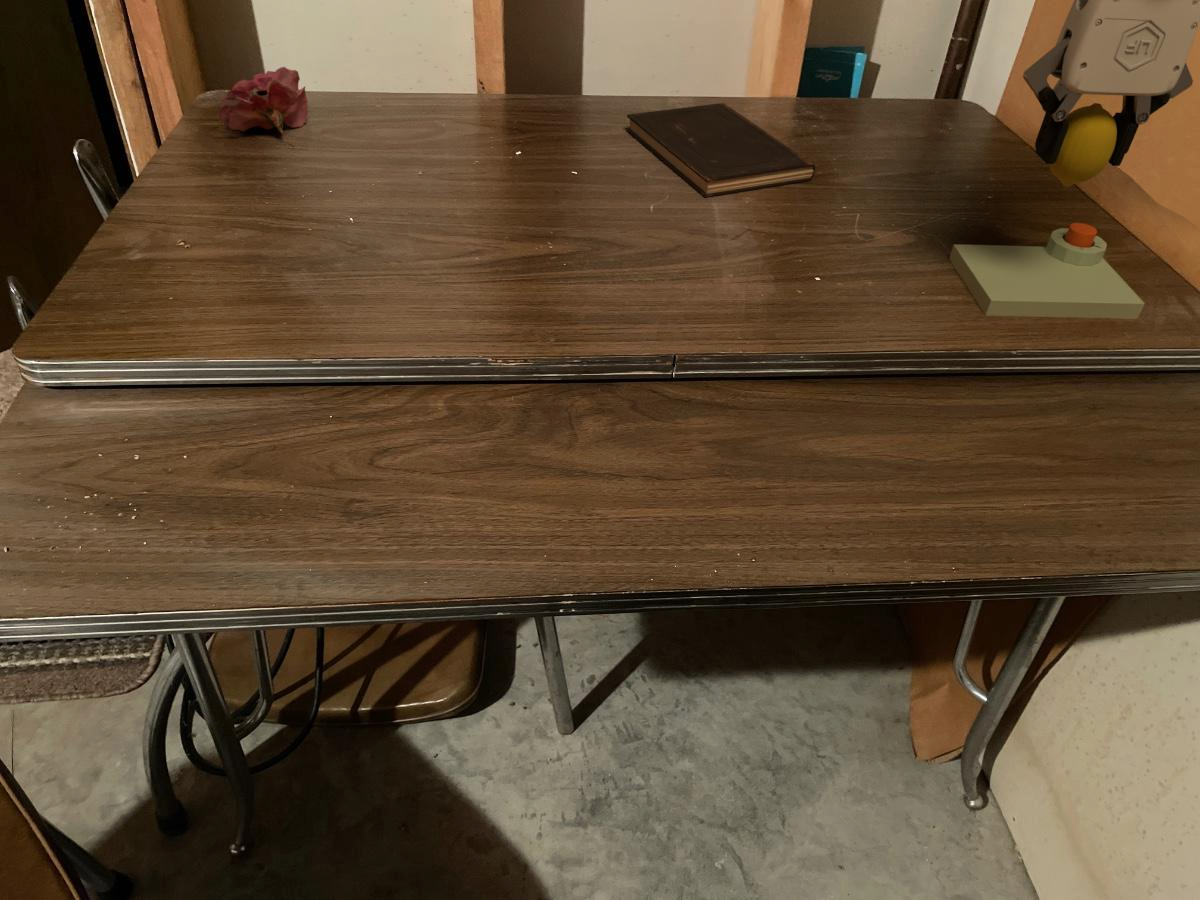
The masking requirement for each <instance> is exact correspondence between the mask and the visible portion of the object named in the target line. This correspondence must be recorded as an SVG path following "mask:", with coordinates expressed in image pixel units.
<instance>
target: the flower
mask: <svg viewBox="0 0 1200 900" xmlns="http://www.w3.org/2000/svg"><path fill="white" fill-rule="evenodd" d="M300 79H301V78H300V74H299V71H297V70H296V69H289V68H287V67H286V66H282V67H279V68H278V69H276V70H275V71H273V70H272V71H271V70H267V71H266V73H263V72H261V73H257V74H254V75H253V79H252V80H251V79H250V80H247V79H242V80H239V81H238V82H236V83H234V85H233V88H232V89H230V90H228V92H227V96H226V97H224V98H223V99H222V101H221V107H220V108H219V113H218V117H219V120H220V122H222V123H223V124H224V126H225V127H226V128H228V129H229V130H232V131H241V132H243V133H245V132H247V131H248V130H249V129H250V128H254V127H259V128H262V129H265V130H270V129H273V128H275V129H277V130H278V132H279V133H280V134H281V135H282V136H284V138H286V140H287V141H288V142H289V144H290V145H291V146H293V147H295V145H294V144H293V143H292V141H291V140H289V139H288V138H287V137H286V136H285V134H284V131H283V125H284V124H285V126H288V127H290V128H292V129H294V128H301V127H303V126H304V124H306V122H307V119H308V114H309V113H308V112H309V111H308V110H309V105H308V98H307V93H306V86H305V85H304V86H303V87H302V88H301V89H300V88H299V82H300Z"/></svg>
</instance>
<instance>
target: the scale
mask: <svg viewBox="0 0 1200 900" xmlns="http://www.w3.org/2000/svg"><path fill="white" fill-rule="evenodd" d="M1068 229H1069V227H1068V228H1066V227H1065V228H1063V227H1061V228H1057V229H1055V230H1053V231H1051V233H1050V236H1049V239H1048V241H1047V244H1046V246H1040V245H1039V246H1036V245H1035V246H1034V245H1000V244H999V245H997V244H996V245H993V244H992V245H991V244H953V245H952V249H951V251H950V254H949V258H948V260H949V261H950V263H951V264H952V266H953V268H954V269H955V271H956V272H957V274H958V275H959V277H960V279H961V280H962V281H963V283H964V285H965V286H966V288H967V289H968V291H969V292H970V294H971V295H972V297H973V298H974V300H975V301H976V303H977V305H978V306H979V308H980V309H981V311H982V312H983V314H984V315H985V316H990V317H992V316H993V317H994V316H995V317H1035V318H1036V317H1037V318H1038V317H1039V318H1040V317H1041V318H1042V317H1043V318H1082V319H1083V318H1084V319H1086V318H1087V319H1127V320H1128V319H1131V320H1133V319H1134V320H1137V319H1139V316H1140V314H1141V312H1142V310H1143V309H1144V306H1145V302H1144V301H1143V300H1142V299H1141V298H1140V297H1139V295H1138V294H1137V293H1136V292H1135V291H1134V290H1133V289H1132V288H1131V286H1129V285H1128V283H1127V282H1126V281H1125V280H1124V279H1123V278H1122V276H1120V275H1119V274H1118V273H1117V272H1116V270H1115V269H1114V268H1113V267H1112V266H1111V265H1110V264H1109V263H1108V262H1107V261H1106V259H1105V258H1104V255H1105V252H1106V251H1107V246H1108V244H1107V242H1106V241H1105V240H1104V239H1103V238H1102V237H1100V236H1098V235H1096V236H1095V238H1094V241H1093V243H1092V245H1091V247H1089V248H1082V247H1077V246H1073V245H1071V244H1069V243H1067V242H1065V241H1064V239H1065V236H1066V234H1067V231H1068Z"/></svg>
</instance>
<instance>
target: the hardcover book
mask: <svg viewBox="0 0 1200 900" xmlns="http://www.w3.org/2000/svg"><path fill="white" fill-rule="evenodd" d="M626 117H627V118H628V119H629V127H628V128H626V129H625V131H626V132H628V134H630V135H631V136H632V137H633V138H634V139H635V140H636V141H638V142H639V143H640V144H641V145H643V146H644V147H645V148H646V149H647V150H648V151H650V152H651V153H652V154H653V155H654V156H655V157H657V158H658V159H659V160H660V161H661V162H662V163H664V164H665V165H666V166H668V167H669V168H670V169H671V170H672V171H673V172H675V173H676V174H677V175H678V176H679V177H680V178H682V179H683V180H684V181H685V182H686V183H687V184H689V185H690V186H691V187H692V188H693V189H694V190H696V191H697V192H698V193H699V194H700V195H702V197H704V198H712V197H718V196H722V195H723V196H724V195H730V194H735V193H736V194H737V193H742V192H748V191H754V190H759V189H768V188H775V187H780V186H785V185H792V184H793V185H794V184H798V183H804V182H809V181H811V180H812V179H813V178H814V176H815V172H816V165H815V164H814V163H812V162H811V161H809V160H808V159H807V158H805V157H804V156H802V155H801V154H799V153H798V152H797V151H795V150H793V149H792V148H791V147H789V146H788V145H786V144H784V143H783V142H782V141H780V140H779V139H777V138H776V137H774V136H773V135H771V134H770V133H769V132H767V131H766V130H764V129H763V128H761V127H760V126H758V125H757V124H755V123H754V122H752V121H751V120H749V119H748V118H746V117H745V116H744V115H742V114H740V113H739V112H737V111H736V110H735V109H733V108H732V107H731V106H729V105H727V104H726V103H724V102H720V103H719V102H718V103H711V104H704V105H695V106H686V107H679V108H670V109H661V110H653V111H645V112H638V113H637V112H636V113H630V114H627V115H626Z"/></svg>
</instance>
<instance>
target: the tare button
mask: <svg viewBox="0 0 1200 900" xmlns="http://www.w3.org/2000/svg"><path fill="white" fill-rule="evenodd" d="M1068 228H1069V229H1068V231H1067V234H1066V236H1065V239H1064V241H1065V242H1067V243H1069V244H1071V245H1073V246H1077V247H1082V248H1089V247H1091V245H1092V243H1093V241H1094V238H1095V236H1097V233H1098V230H1097V229H1096V228H1095V227H1094V226H1092V225H1090V224H1088V223H1082V222H1072V223H1071V224H1069V226H1068Z"/></svg>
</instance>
